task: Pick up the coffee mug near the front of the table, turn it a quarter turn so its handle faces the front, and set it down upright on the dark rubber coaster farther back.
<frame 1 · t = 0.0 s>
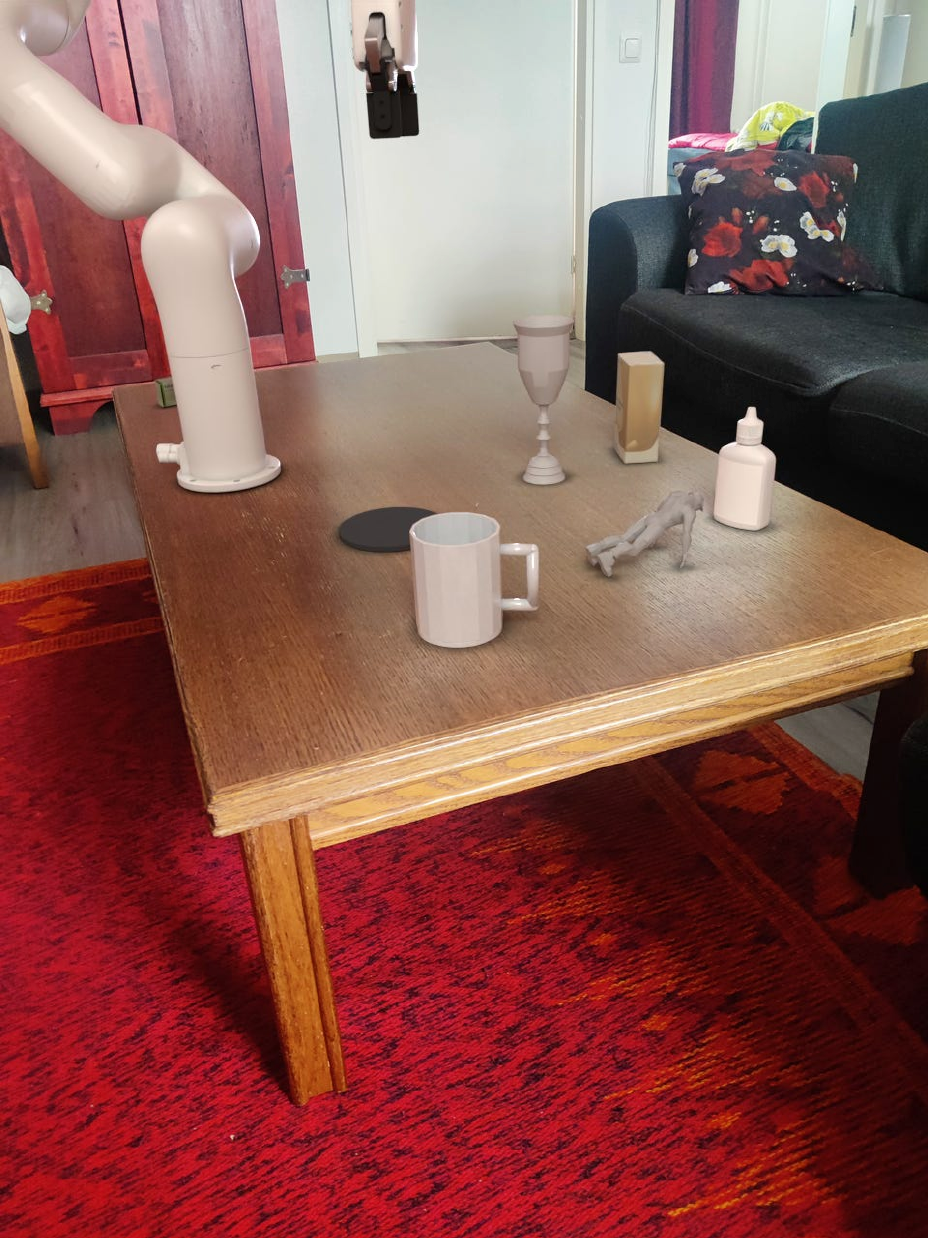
hand: (395, 136, 98), 37 cm above the table, tool pointing down, fingers open, 9 cm apart
medication box: (196, 401, 153), on the table
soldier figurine: (645, 563, 90), on the table
coffee mug: (460, 627, 80), on the table
coaster: (392, 530, 100), on the table
chalice: (544, 478, 113), on the table
cosmetic box: (635, 457, 118), on the table
eye dropper bottle: (740, 524, 98), on the table
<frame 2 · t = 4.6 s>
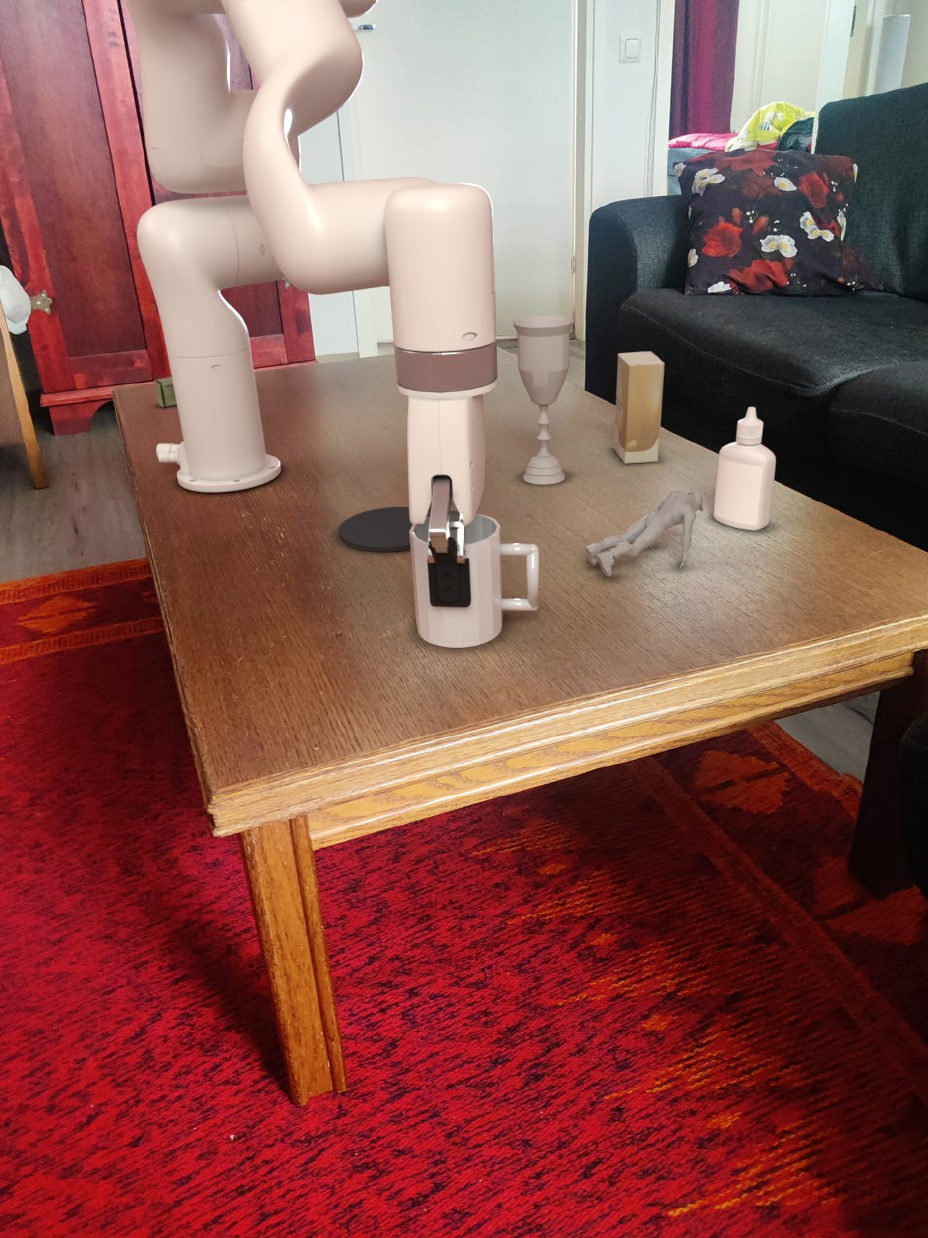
hand: (457, 582, 78), 4 cm above the table, tool pointing down, fingers closed on coffee mug, 7 cm apart
coffee mug: (460, 627, 80), on the table, touching gripper
everything else where it was.
when the fingers open (5 cm above the table, at t = 14.3 s): coffee mug stays where it is, resting on coaster.
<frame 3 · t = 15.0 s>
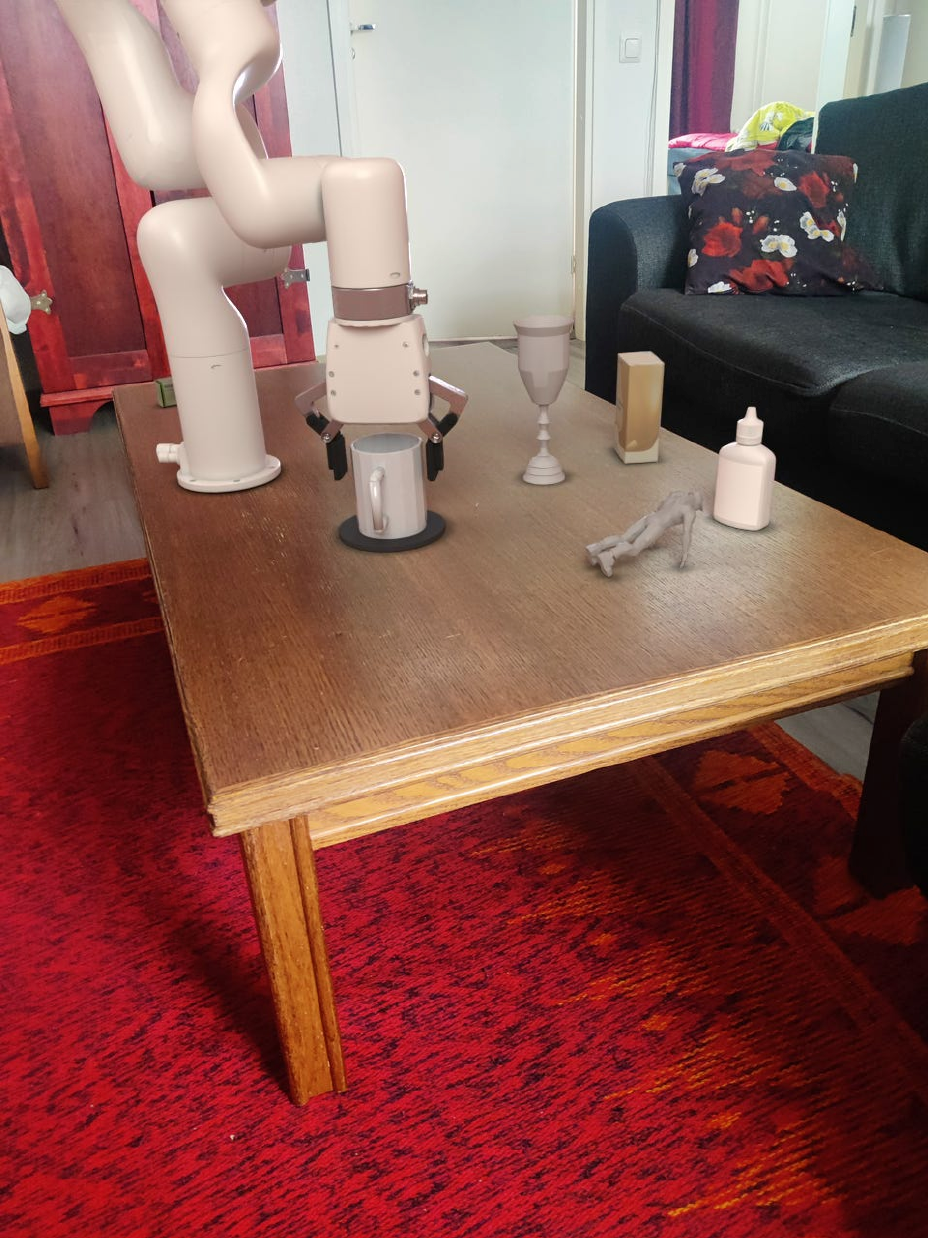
hand: (387, 476, 97), 6 cm above the table, tool pointing down, fingers open, 9 cm apart
coffee mug: (392, 525, 100), point 1 cm above the table, touching coaster
everything else where it was.
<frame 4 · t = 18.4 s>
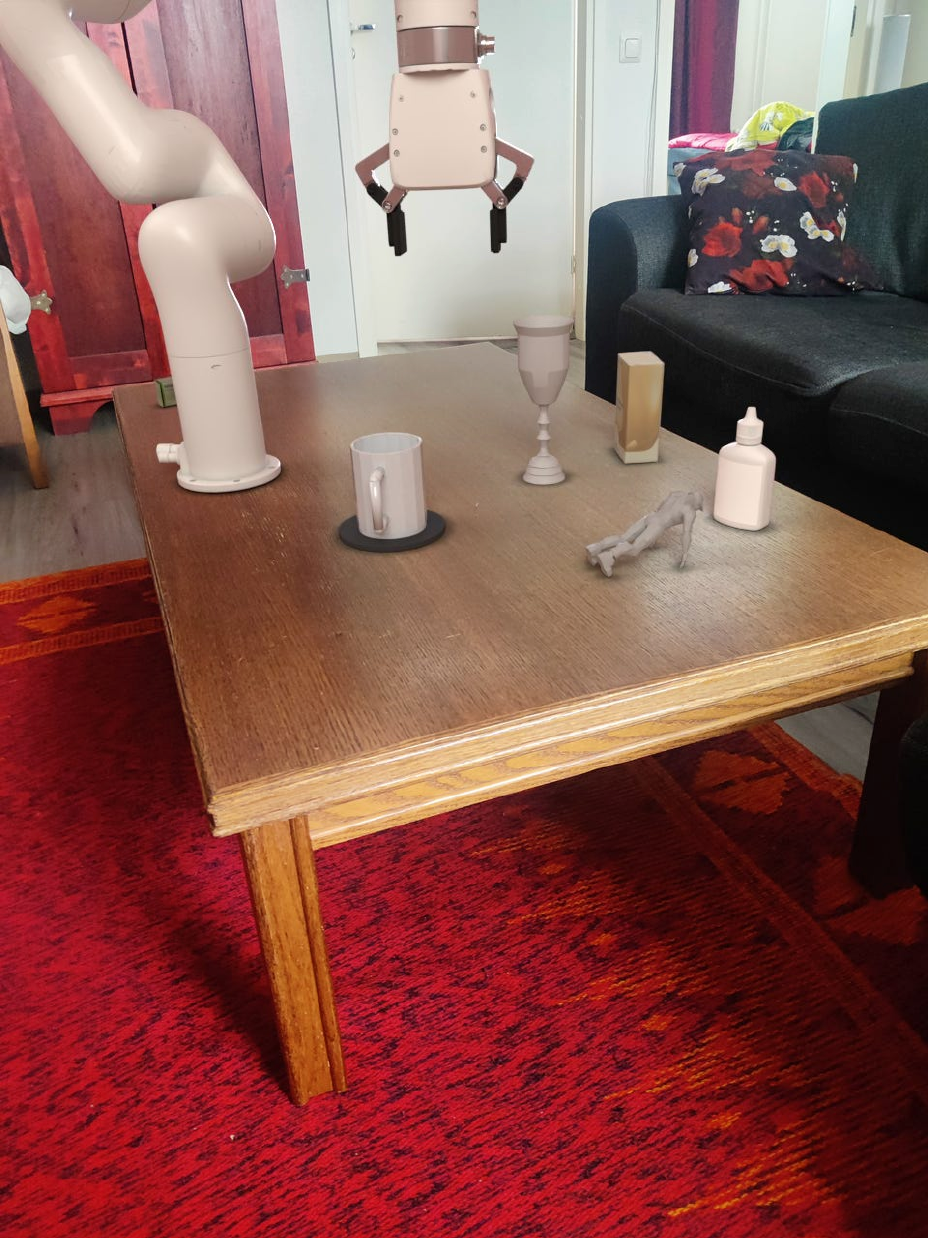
hand: (448, 252, 95), 26 cm above the table, tool pointing down, fingers open, 9 cm apart
nothing on the table moved.
at the end: coffee mug 0.1 cm off-centre on the coaster, point 0.6 cm above the coaster's base; coffee mug tilted 0°; the gripper is holding nothing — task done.
